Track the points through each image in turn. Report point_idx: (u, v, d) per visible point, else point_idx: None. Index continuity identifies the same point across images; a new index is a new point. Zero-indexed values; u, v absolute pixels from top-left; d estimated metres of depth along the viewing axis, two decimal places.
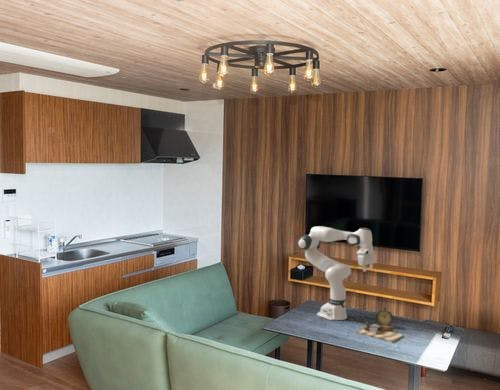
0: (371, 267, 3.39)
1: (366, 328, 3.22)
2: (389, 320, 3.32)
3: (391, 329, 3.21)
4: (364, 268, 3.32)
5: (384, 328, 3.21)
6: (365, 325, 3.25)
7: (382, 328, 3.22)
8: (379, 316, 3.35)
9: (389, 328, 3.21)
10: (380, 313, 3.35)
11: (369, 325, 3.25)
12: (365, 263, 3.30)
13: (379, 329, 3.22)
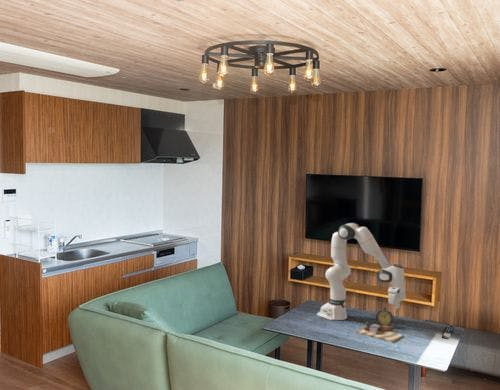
0: (398, 306, 3.27)
1: (366, 328, 3.22)
2: (389, 320, 3.32)
3: (391, 329, 3.21)
4: (396, 305, 3.26)
5: (384, 328, 3.21)
6: (365, 325, 3.25)
7: (382, 328, 3.22)
8: (379, 316, 3.35)
9: (389, 328, 3.21)
10: (380, 313, 3.35)
11: (369, 325, 3.25)
12: (395, 302, 3.21)
13: (379, 329, 3.22)
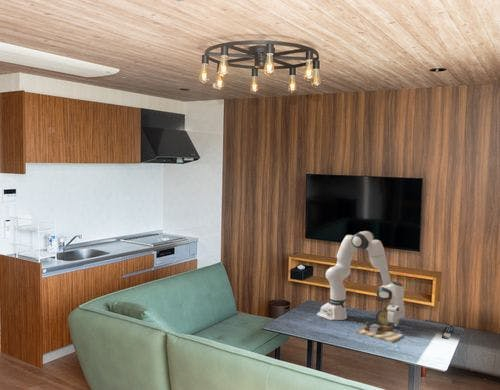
0: (397, 323, 3.28)
1: (366, 328, 3.22)
2: None
3: (391, 329, 3.21)
4: (395, 323, 3.27)
5: (384, 328, 3.21)
6: (365, 325, 3.25)
7: (382, 328, 3.22)
8: (379, 316, 3.35)
9: (389, 328, 3.21)
10: (380, 313, 3.35)
11: (369, 325, 3.25)
12: (395, 320, 3.22)
13: (379, 329, 3.22)
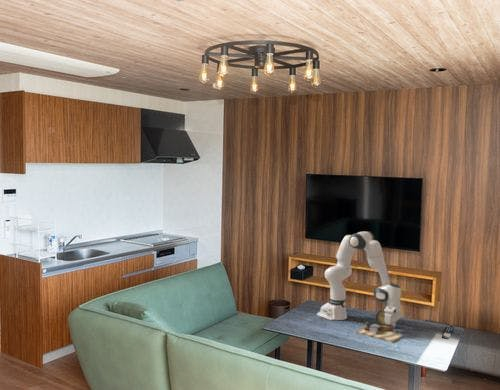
0: (394, 325, 3.24)
1: (366, 328, 3.22)
2: None
3: (391, 329, 3.21)
4: (393, 325, 3.23)
5: (384, 328, 3.21)
6: (365, 325, 3.25)
7: (382, 328, 3.22)
8: (379, 316, 3.35)
9: (389, 328, 3.21)
10: (380, 313, 3.35)
11: (369, 325, 3.25)
12: (392, 322, 3.18)
13: (379, 329, 3.22)
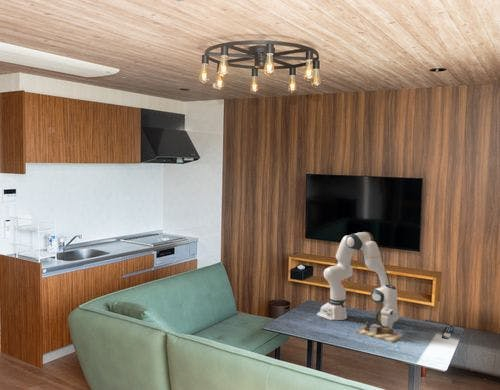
0: (391, 328, 3.19)
1: (365, 328, 3.23)
2: None
3: (390, 332, 3.15)
4: (389, 327, 3.18)
5: (383, 330, 3.18)
6: (365, 325, 3.25)
7: (381, 330, 3.18)
8: (379, 316, 3.35)
9: (388, 331, 3.16)
10: (380, 313, 3.35)
11: (369, 325, 3.24)
12: (388, 324, 3.13)
13: (378, 330, 3.19)
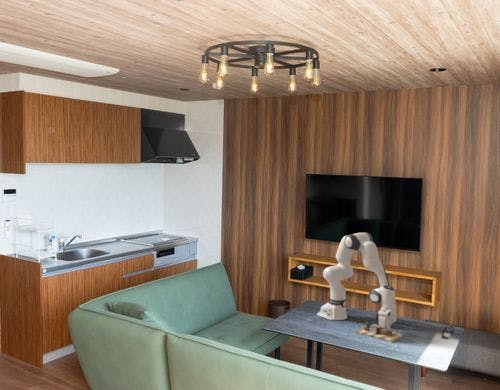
0: (388, 329, 3.17)
1: (364, 328, 3.23)
2: None
3: (388, 333, 3.13)
4: (387, 328, 3.16)
5: (381, 331, 3.16)
6: (366, 325, 3.25)
7: (379, 331, 3.17)
8: None
9: (386, 332, 3.14)
10: None
11: (369, 325, 3.24)
12: (386, 325, 3.11)
13: None
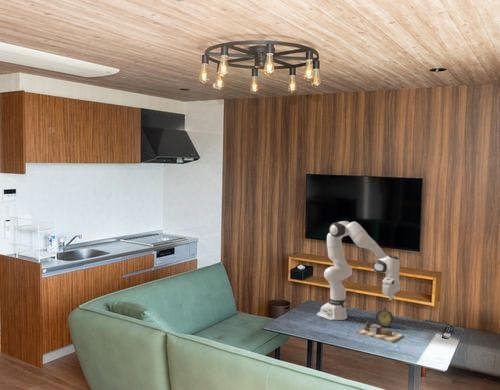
0: (392, 297, 3.23)
1: (364, 328, 3.23)
2: (389, 320, 3.32)
3: (388, 333, 3.13)
4: (390, 296, 3.21)
5: (381, 331, 3.16)
6: (366, 325, 3.25)
7: (379, 331, 3.17)
8: (379, 316, 3.35)
9: (386, 332, 3.14)
10: (380, 313, 3.35)
11: (369, 325, 3.24)
12: (390, 293, 3.17)
13: None
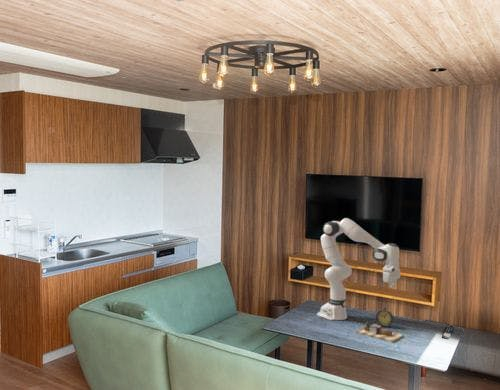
0: (392, 285, 3.29)
1: (364, 328, 3.23)
2: (389, 320, 3.32)
3: (388, 333, 3.13)
4: (391, 284, 3.28)
5: (381, 331, 3.16)
6: (366, 325, 3.25)
7: (379, 331, 3.17)
8: (379, 316, 3.35)
9: (386, 332, 3.14)
10: (380, 313, 3.35)
11: (369, 325, 3.24)
12: (390, 280, 3.23)
13: None
